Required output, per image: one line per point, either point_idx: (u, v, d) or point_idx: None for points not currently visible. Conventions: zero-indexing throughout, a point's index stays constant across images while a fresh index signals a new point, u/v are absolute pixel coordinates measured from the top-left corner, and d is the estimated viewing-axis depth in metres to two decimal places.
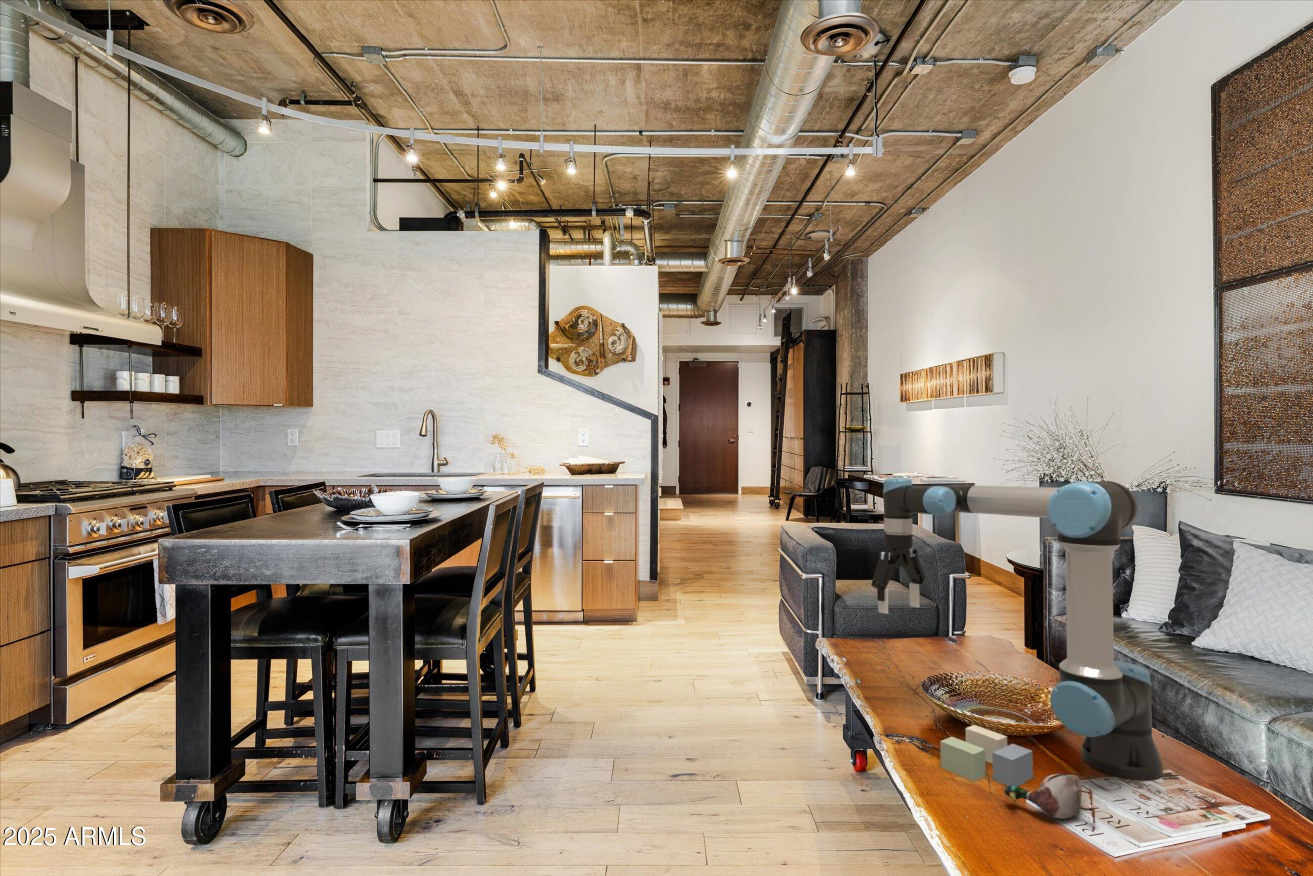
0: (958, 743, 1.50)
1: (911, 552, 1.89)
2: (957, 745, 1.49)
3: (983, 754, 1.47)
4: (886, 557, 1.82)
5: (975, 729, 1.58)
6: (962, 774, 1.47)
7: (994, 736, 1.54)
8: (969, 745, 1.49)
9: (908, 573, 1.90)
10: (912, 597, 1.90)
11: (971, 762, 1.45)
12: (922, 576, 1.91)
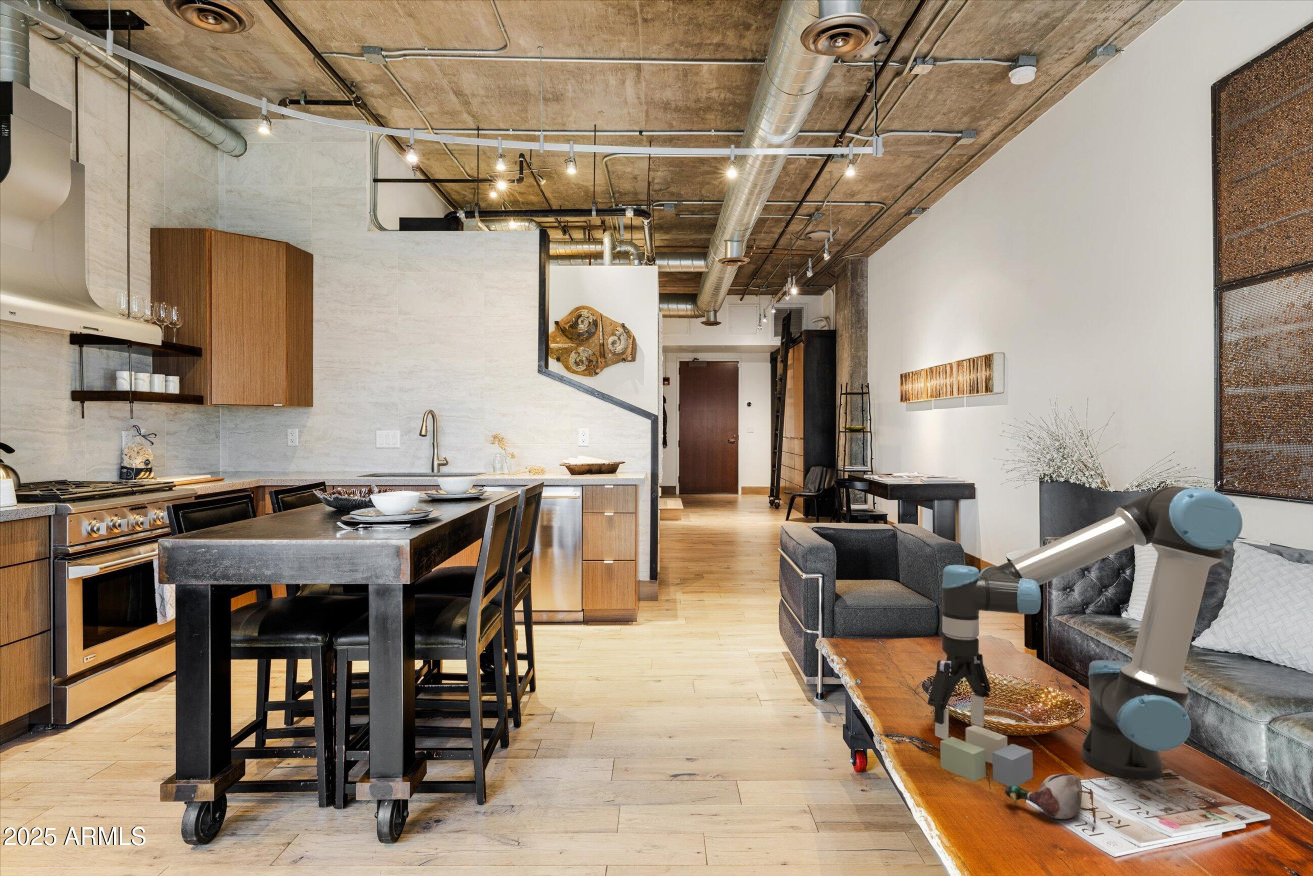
0: (958, 743, 1.50)
1: (975, 658, 1.53)
2: (957, 745, 1.49)
3: (983, 754, 1.47)
4: (947, 668, 1.46)
5: (975, 729, 1.58)
6: (962, 774, 1.47)
7: (994, 736, 1.54)
8: (968, 745, 1.49)
9: (970, 683, 1.53)
10: (975, 712, 1.54)
11: (971, 762, 1.45)
12: (987, 687, 1.54)
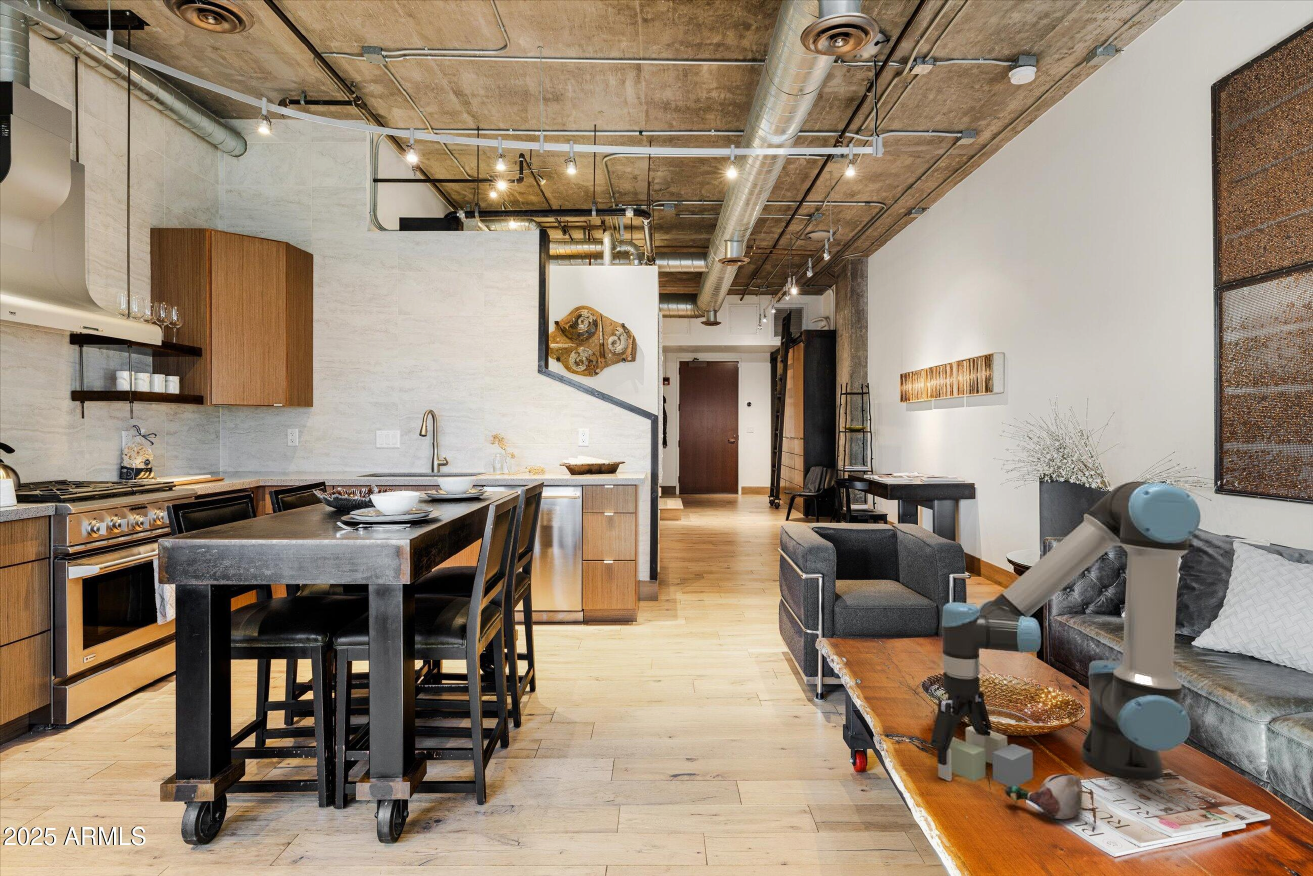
0: (958, 743, 1.50)
1: (976, 695, 1.52)
2: (957, 745, 1.49)
3: (983, 754, 1.47)
4: (948, 709, 1.45)
5: None
6: (962, 774, 1.47)
7: (994, 736, 1.54)
8: (968, 745, 1.49)
9: (971, 721, 1.53)
10: None
11: (971, 762, 1.45)
12: (988, 725, 1.53)
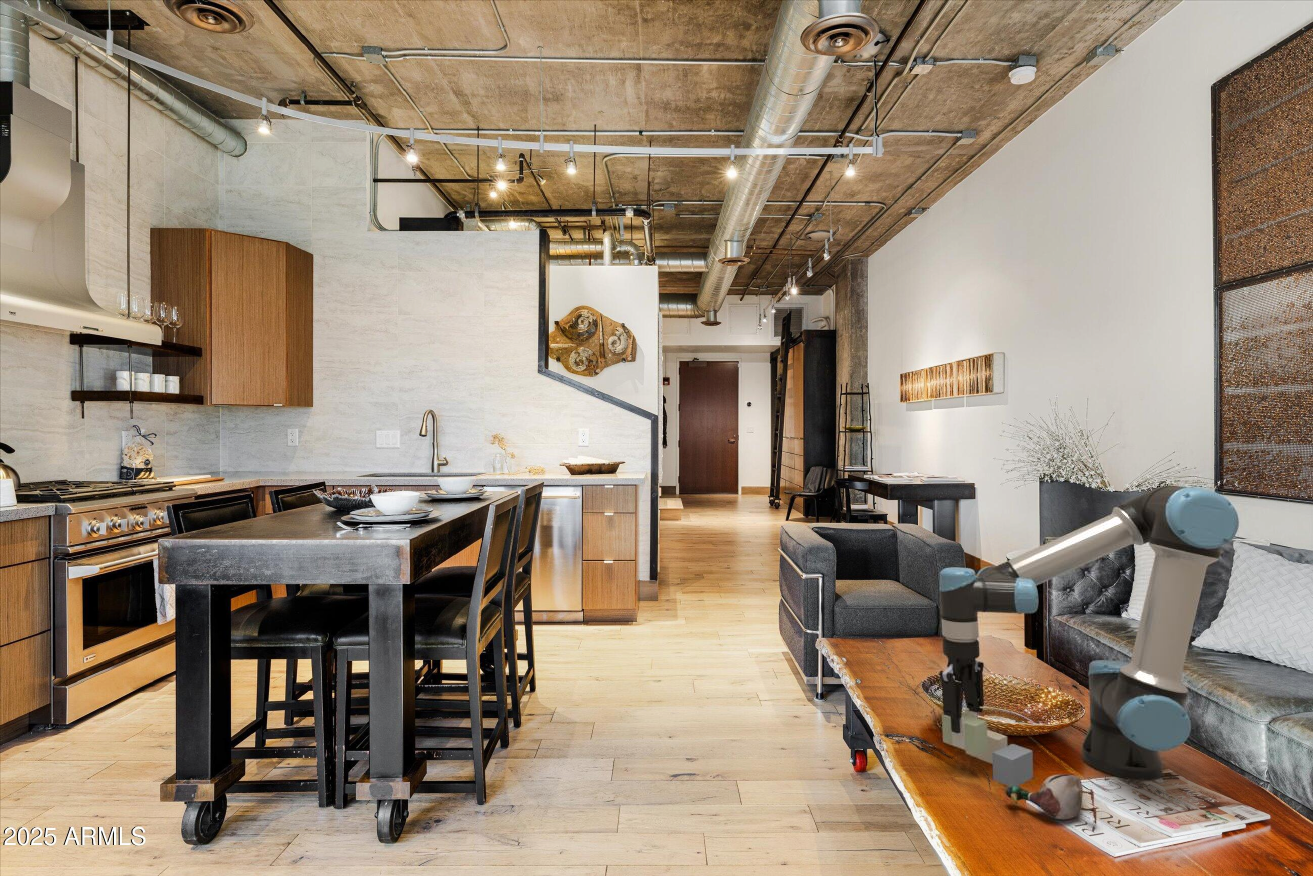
0: None
1: (976, 664, 1.52)
2: None
3: (985, 726, 1.47)
4: (950, 679, 1.46)
5: None
6: None
7: (994, 736, 1.54)
8: (970, 718, 1.49)
9: (966, 693, 1.51)
10: None
11: (973, 734, 1.45)
12: (981, 700, 1.51)
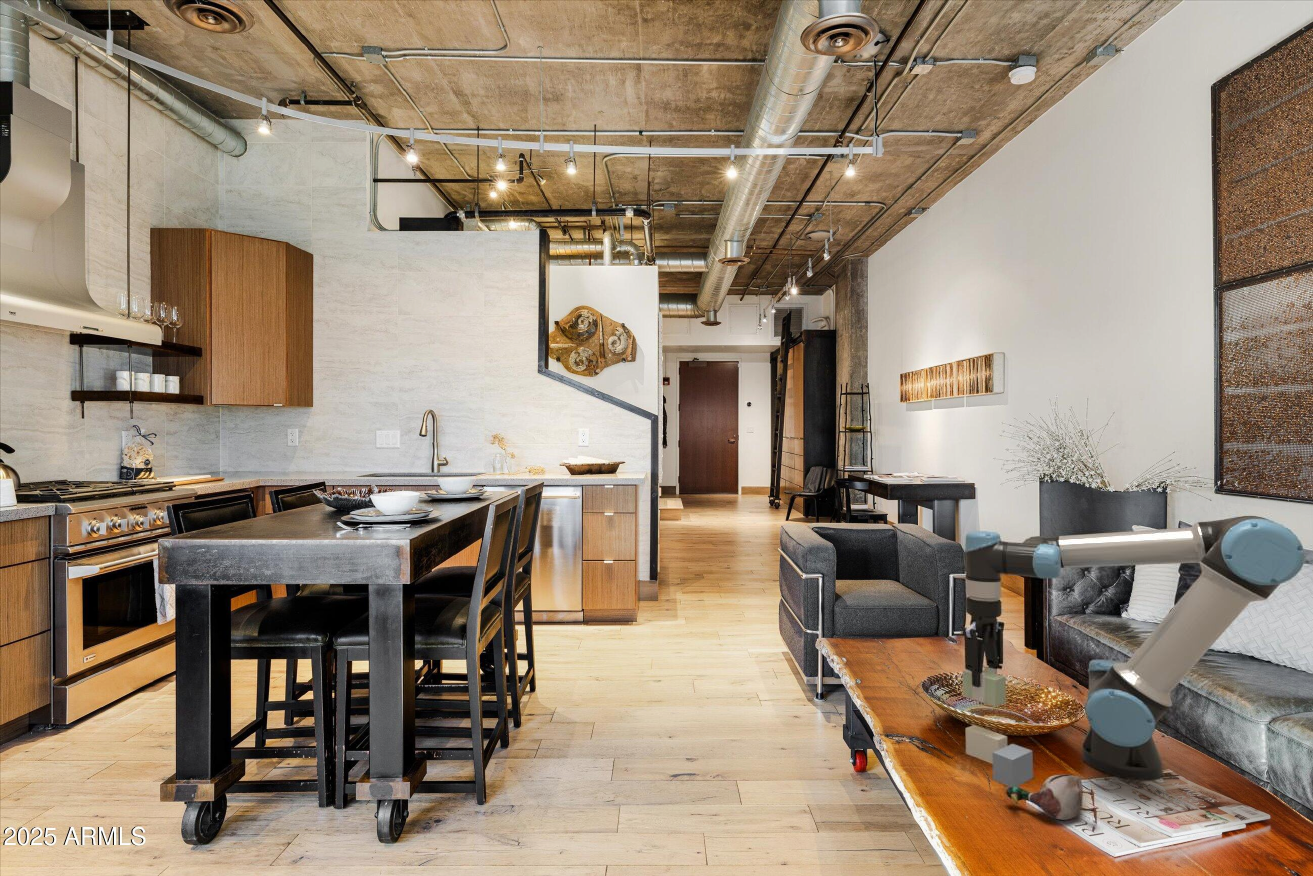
0: None
1: (997, 623, 1.59)
2: None
3: (1004, 681, 1.54)
4: (973, 635, 1.53)
5: (975, 729, 1.58)
6: None
7: (994, 736, 1.54)
8: (990, 674, 1.57)
9: (987, 650, 1.59)
10: None
11: (993, 688, 1.53)
12: (1001, 658, 1.59)
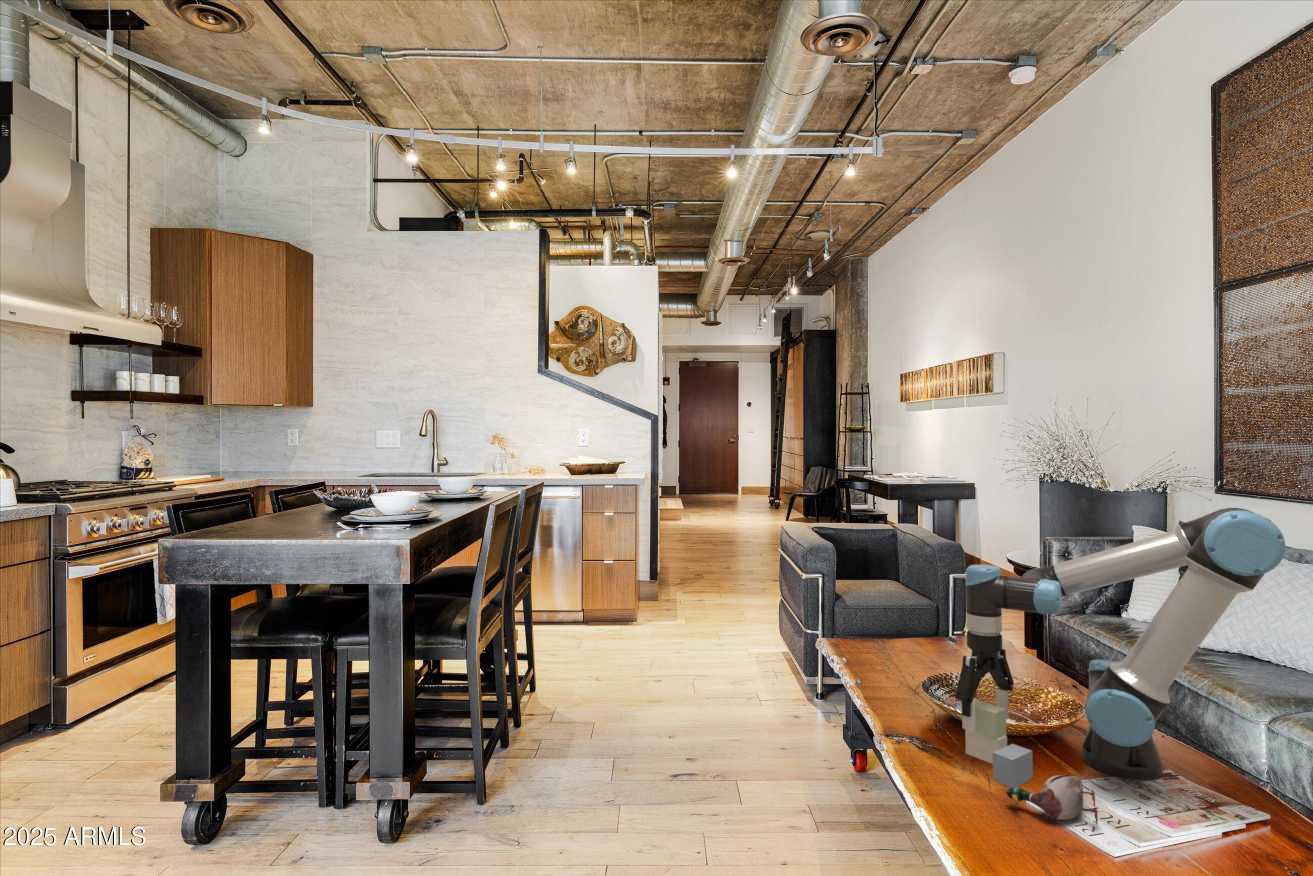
0: (979, 704, 1.58)
1: (998, 653, 1.59)
2: (979, 705, 1.57)
3: (1004, 713, 1.54)
4: (972, 663, 1.52)
5: None
6: (984, 732, 1.54)
7: None
8: (990, 706, 1.57)
9: (994, 677, 1.60)
10: (999, 705, 1.60)
11: (993, 720, 1.53)
12: (1011, 681, 1.61)
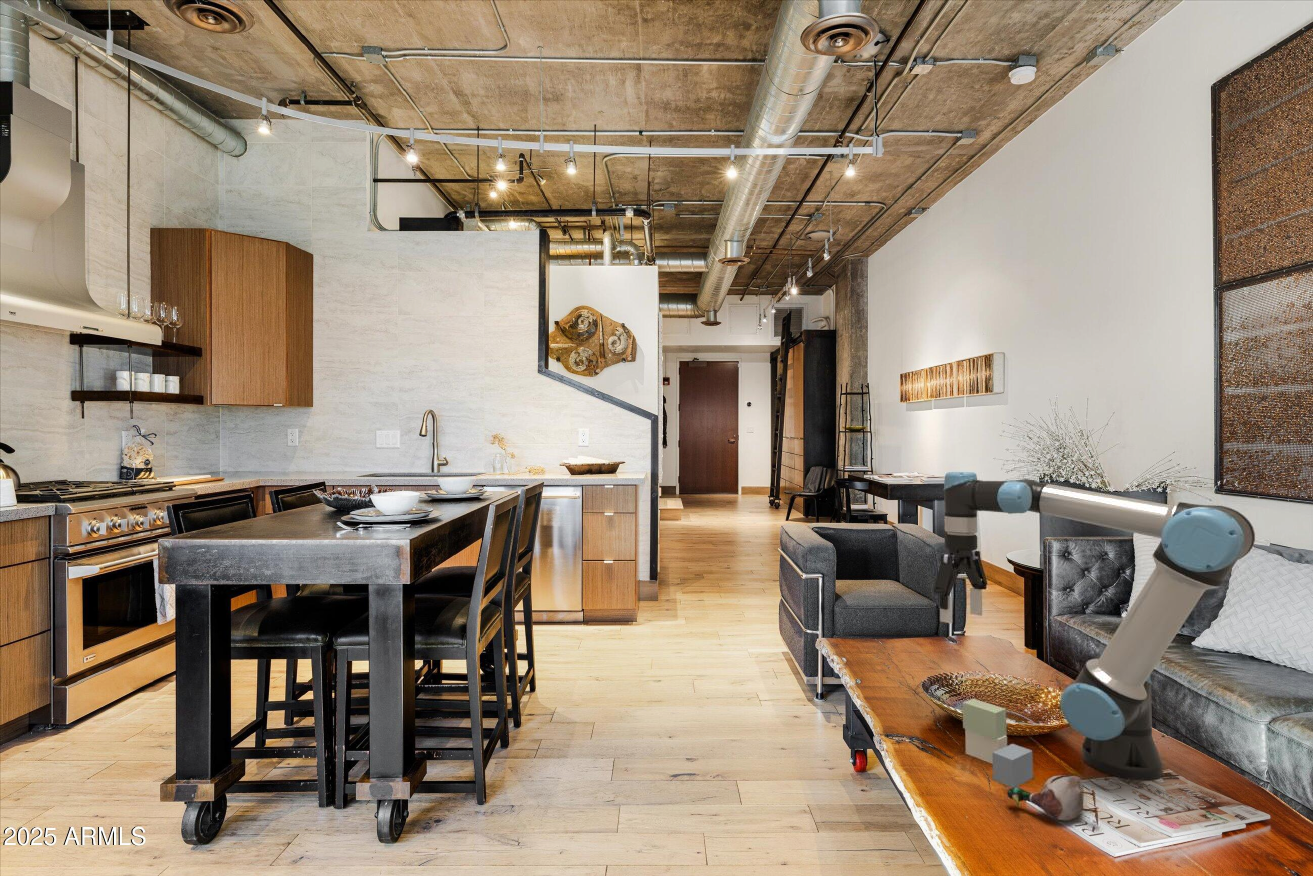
0: (980, 704, 1.58)
1: (973, 554, 1.71)
2: (979, 706, 1.57)
3: (1004, 713, 1.54)
4: (950, 560, 1.63)
5: None
6: (984, 733, 1.54)
7: None
8: (990, 706, 1.57)
9: (970, 577, 1.71)
10: (973, 603, 1.72)
11: (993, 720, 1.53)
12: (984, 581, 1.72)
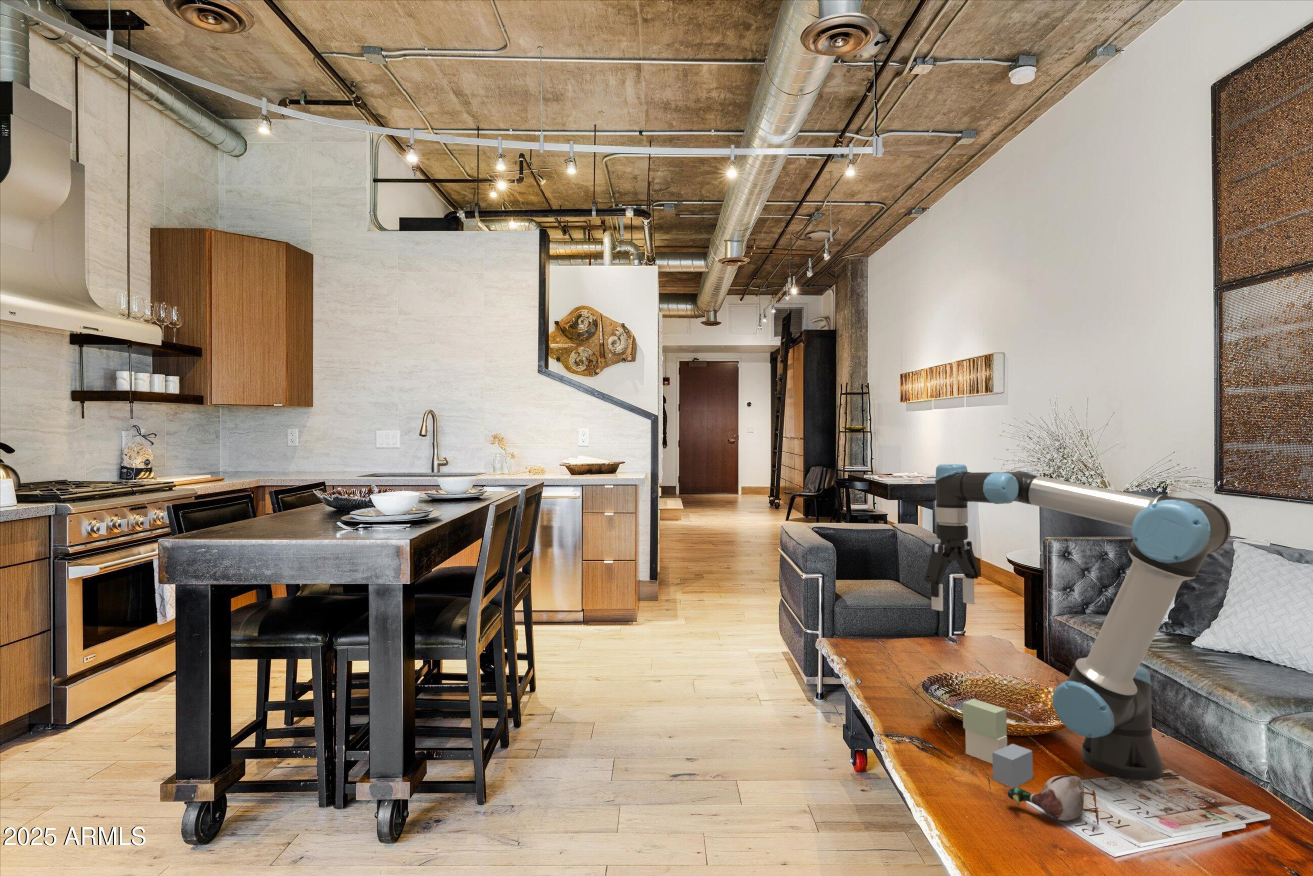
0: (980, 704, 1.58)
1: (965, 544, 1.75)
2: (979, 706, 1.57)
3: (1004, 713, 1.54)
4: (940, 549, 1.68)
5: None
6: (984, 733, 1.54)
7: None
8: (990, 706, 1.57)
9: (962, 567, 1.76)
10: (966, 592, 1.76)
11: (994, 720, 1.53)
12: (977, 570, 1.77)
